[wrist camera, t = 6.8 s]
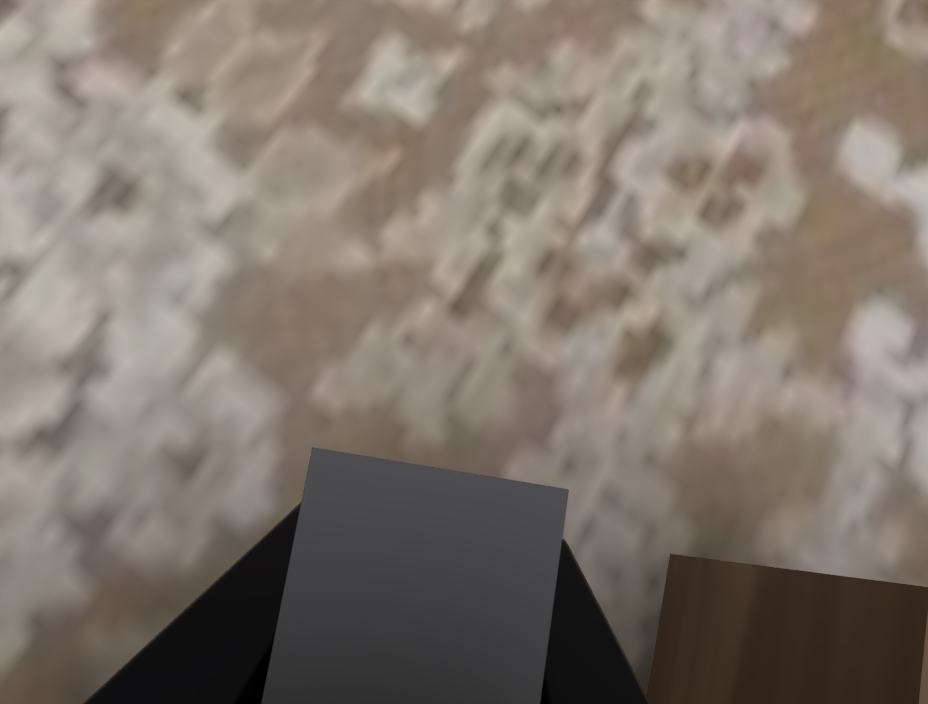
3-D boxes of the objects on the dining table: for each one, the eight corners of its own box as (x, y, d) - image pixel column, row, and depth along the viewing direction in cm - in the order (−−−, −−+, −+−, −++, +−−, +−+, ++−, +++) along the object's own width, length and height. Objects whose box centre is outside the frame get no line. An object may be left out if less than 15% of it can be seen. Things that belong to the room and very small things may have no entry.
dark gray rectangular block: (493, 512, 16) (568, 489, 6) (460, 731, 15) (487, 1085, 6) (391, 495, 16) (312, 447, 6) (353, 712, 15) (194, 1036, 6)
